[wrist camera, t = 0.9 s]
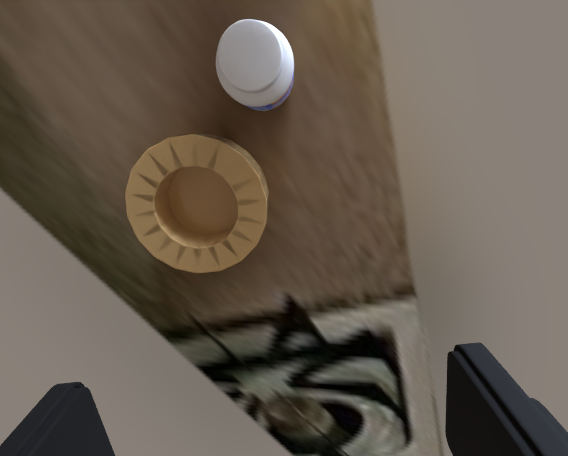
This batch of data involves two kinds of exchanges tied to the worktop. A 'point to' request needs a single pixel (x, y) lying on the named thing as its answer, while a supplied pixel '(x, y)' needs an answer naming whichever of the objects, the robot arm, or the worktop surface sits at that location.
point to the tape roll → (197, 202)
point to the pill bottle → (255, 64)
